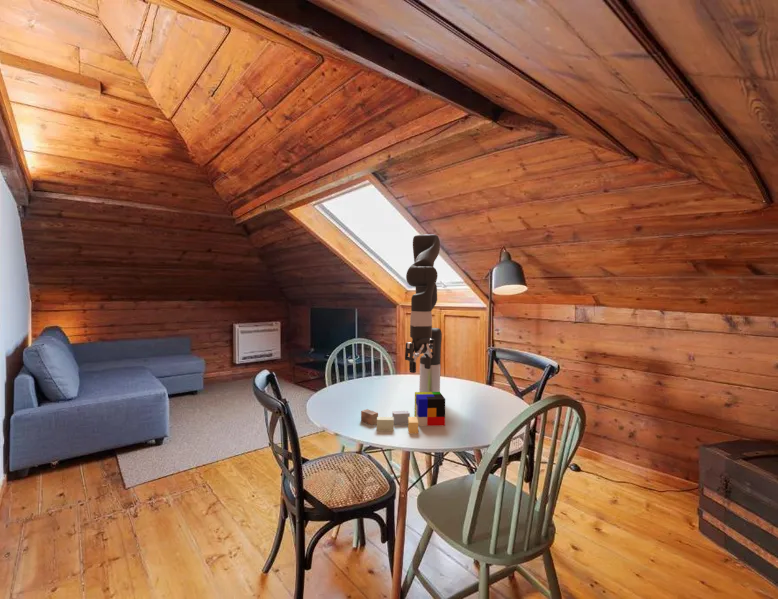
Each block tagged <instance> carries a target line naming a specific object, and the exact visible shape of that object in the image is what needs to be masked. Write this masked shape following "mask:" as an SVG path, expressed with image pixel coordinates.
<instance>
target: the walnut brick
mask: <svg viewBox="0 0 778 599" xmlns="http://www.w3.org/2000/svg"><path fill="white" fill-rule="evenodd" d="M360 416H361V417H360V421H361V422H363V423H365V424H369V425H370V426H373V425H377V417H379V413H378V412H377V411H374V410H371V409H368V408H367V409H363V410H361V412H360Z"/></svg>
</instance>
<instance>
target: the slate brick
mask: <svg viewBox="0 0 778 599" xmlns="http://www.w3.org/2000/svg"><path fill="white" fill-rule="evenodd" d="M391 414H392V416H391V417H394V425H403V424H404V425H408V417H411V414H410V412H409V410H394V411H392V413H391Z"/></svg>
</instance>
